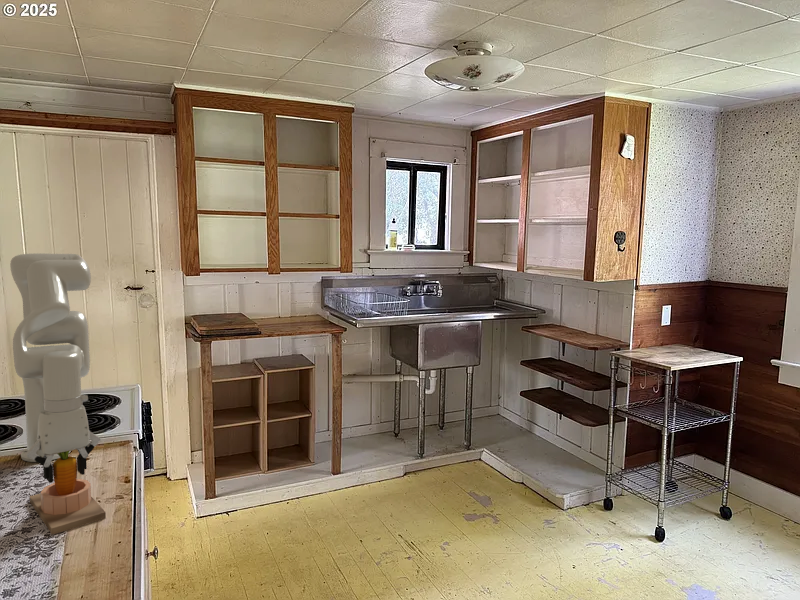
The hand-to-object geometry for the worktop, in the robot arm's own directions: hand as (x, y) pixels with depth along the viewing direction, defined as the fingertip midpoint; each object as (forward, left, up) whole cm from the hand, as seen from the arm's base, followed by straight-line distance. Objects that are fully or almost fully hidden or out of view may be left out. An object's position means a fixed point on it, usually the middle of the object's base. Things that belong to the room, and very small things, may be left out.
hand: (65, 476), depth 132 cm
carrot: (0, 0, -7) cm, 7 cm away
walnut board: (0, 0, -8) cm, 8 cm away
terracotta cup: (0, 0, -7) cm, 7 cm away
